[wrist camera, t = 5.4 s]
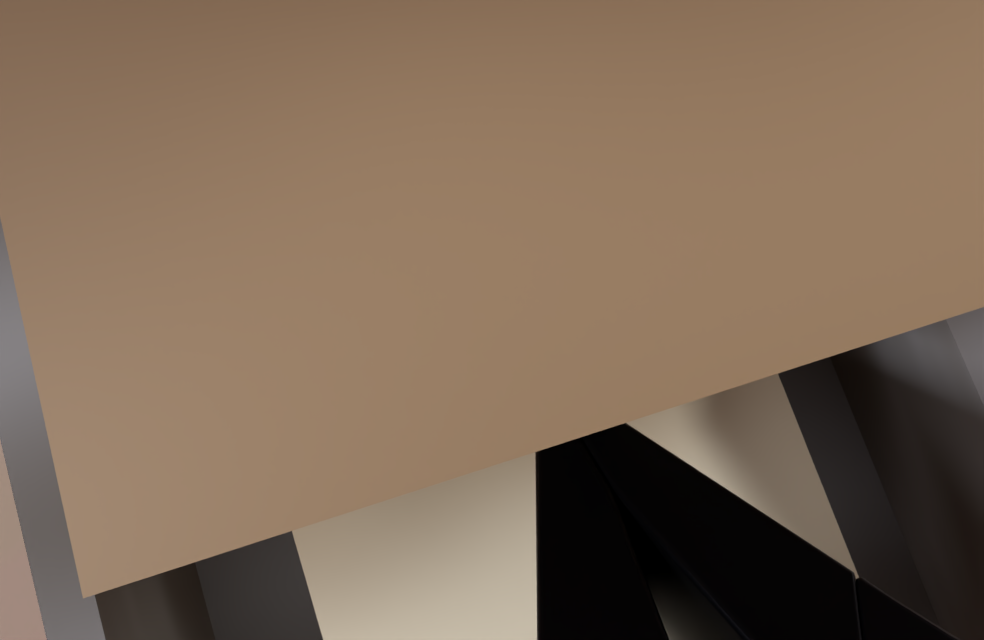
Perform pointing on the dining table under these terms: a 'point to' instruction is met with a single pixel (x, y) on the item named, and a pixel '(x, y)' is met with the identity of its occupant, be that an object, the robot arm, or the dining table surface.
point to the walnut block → (451, 232)
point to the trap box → (512, 508)
